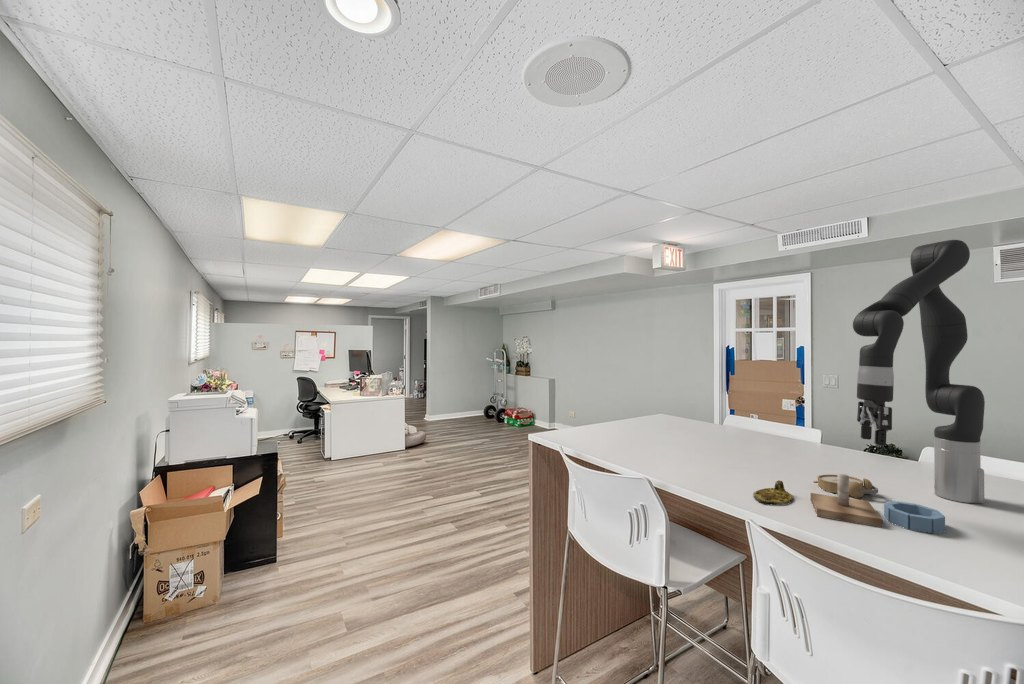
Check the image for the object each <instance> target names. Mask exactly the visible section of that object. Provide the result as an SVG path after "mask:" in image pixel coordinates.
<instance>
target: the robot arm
mask: <svg viewBox="0 0 1024 684" xmlns="http://www.w3.org/2000/svg"><path fill="white" fill-rule="evenodd" d="M970 256H971V253H970V249H969V246H968V245H967V243H966V242H965V241H962V240H961V239H949V240H943V241H938V242H933V243H928V244H927V243H926V244H922V245H919V246H916V247H915V248H914V249H913V250H912V252H911V254H910V259H909V260H910V269H911V273H912V275H911V276H908V277H907V278H905V279H903V280H902V281H901V280H900V282H898V283H896V284H895V285H893V287H892V288H890V289H889V290H888V291H887V292H886V293H885V294H884V295H883V297H882V298H881V299H879V300H878V301H876V302H874V303H872V304H871V305H869V306H867V307H865V308H863V309H862V310H861V311H859V312H858V313H857V314H856V315H855V317H854V319H853V320H852V329H853V331H854V332H855V333H856V334H857V335H859V336H861V337H877V339H876V340H875V341H874V343H871V344H867V345H863V346H861V347H860V350H859V360H858V362H859V363H858V371H857V379H856V380H857V381H856V383H857V385H856V399H858V400H861V401H858V403H857V417H856V421H857V422H858V423H859V425H860V439H862V440H872V435H873V434H872V429H873V427H874V440H873V441H874V445H876V446H882V447H883V446H886V445H887V432H889V431H892V430H893V407H891V406H886V403H892V402H893V401H894V388H895V387H894V382H895V381H894V380H895V374H894V353H895V350H896V347H897V346H898V342H899V340H900V338H901V335H902V332H903V329H904V325H905V323H904V318H903V317H905V316H906V315H907V314H909V313H910V312H911V311H912V310H913V309H914V307H915V306H917V304H918V306H919V315H920V329H921V336H922V337H921V338H922V342H923V351H924V360H925V384H924V385H925V390H924V391H925V401H926V404H927V407H928V408H929V409H930V411H932V412H933V413H936V414H941V415H947V416H954V417H955V418H954V422H953V423H951V424H947V425H938V426H936V427H934V430H933V431H934V432H933V434H934V435H933V441H934V443H933V444H934V445H933V446H934V448H933V453H934V458H933V459H934V461H933V462H934V464H933V465H934V466H933V467H934V477H933V478H934V485H933V486H934V494H935V495H936V496H938V497H941V498H943V499H947V500H951V501H955V502H960V503H968V504H985V469H983V468H982V467H981V466H982V465H981V460H982V459H981V458H982V457H981V456H982V455H981V437H982V433H983V431H984V419H985V418H984V416H985V408H986V407H985V405H986V404H985V403H986V401H985V396H984V393H983V391H982V390H981V389H980V388H979V387H977V386H975V385H968V384H967V385H966V384H957V383H955V384H954V383H951V382H950V369H951V366H952V364H953V363H954V361H955V359H956V358H957V357H958V355H959V354H960V353H961V351H962V350H963V348H964V347H965V345H966V344H967V342H968V339H969V337H968V327H967V325H968V324H967V319H966V316H965V315H964V313H963V311H962V310H961V309H960V308H959V307H958V306H957V305H956V304H955V303H954V302H953V301H952V300H950V299H949V298H948V296H947V295H945V294H944V292H943V290H942V289H941V287H940V286H941V284H942V283H944V282H945V281H947V280H948V279H950V278H951V277H953V276H954V275H955V274H956V273H958V272H960V271H961V270H963V268H964V267H966V265H968V263H969V260H970ZM862 400H863V401H862Z"/></svg>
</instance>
